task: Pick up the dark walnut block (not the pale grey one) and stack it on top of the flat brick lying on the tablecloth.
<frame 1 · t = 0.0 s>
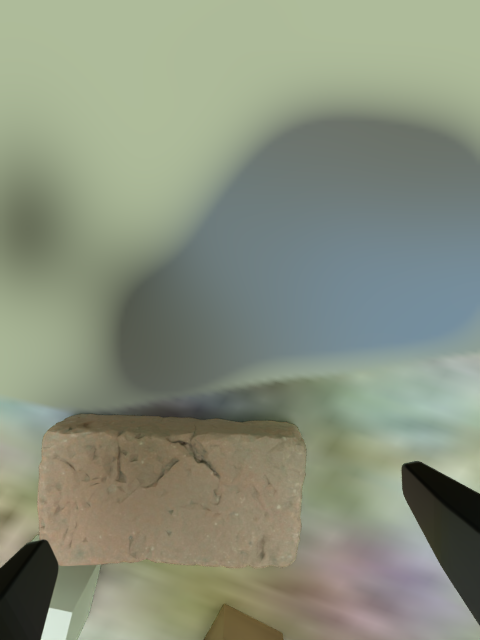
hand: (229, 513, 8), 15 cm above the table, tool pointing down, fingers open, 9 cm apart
brick: (185, 465, 24), on the table
grey block: (63, 573, 24), on the table
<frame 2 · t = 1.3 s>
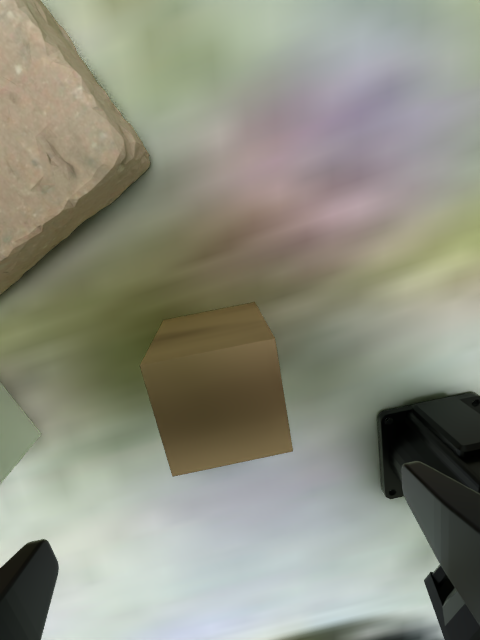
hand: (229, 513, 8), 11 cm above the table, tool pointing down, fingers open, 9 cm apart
walnut block: (218, 352, 18), on the table
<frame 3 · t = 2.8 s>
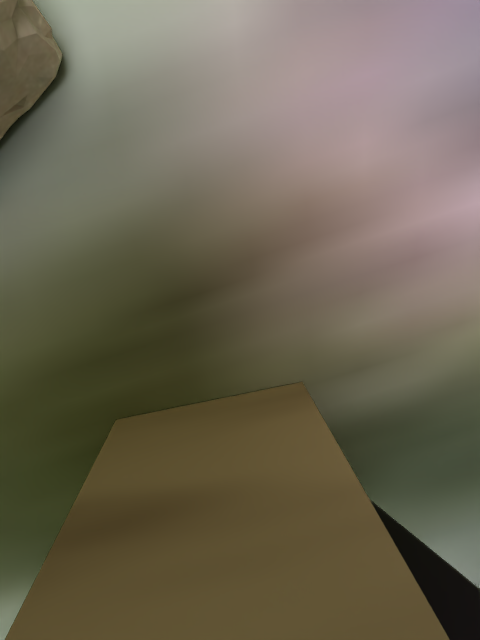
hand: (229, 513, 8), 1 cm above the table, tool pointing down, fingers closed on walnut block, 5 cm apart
walnut block: (227, 476, 9), on the table, touching gripper
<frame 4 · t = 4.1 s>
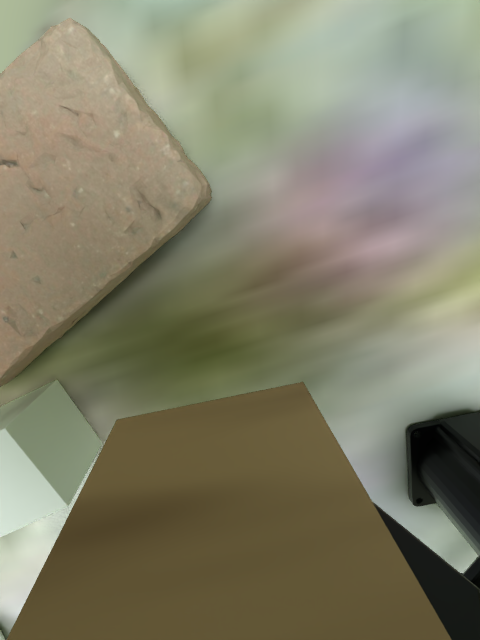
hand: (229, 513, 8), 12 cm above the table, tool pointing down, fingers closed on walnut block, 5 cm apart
brick: (54, 235, 18), on the table
grey block: (46, 428, 20), on the table
walnut block: (228, 476, 9), point 11 cm above the table, touching gripper
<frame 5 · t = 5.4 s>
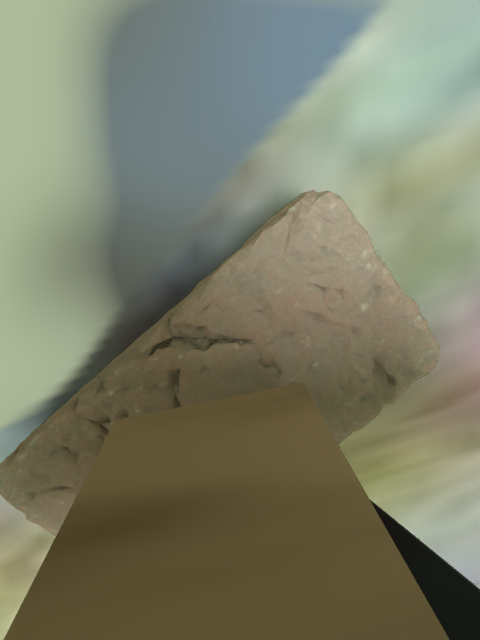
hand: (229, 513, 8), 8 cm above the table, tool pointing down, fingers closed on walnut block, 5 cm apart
brick: (220, 366, 16), on the table
walnut block: (227, 477, 9), point 7 cm above the table, touching gripper
when the fingers open (8 cm above the table, at t = 5.8 s): walnut block drops 2 cm, resting on brick.
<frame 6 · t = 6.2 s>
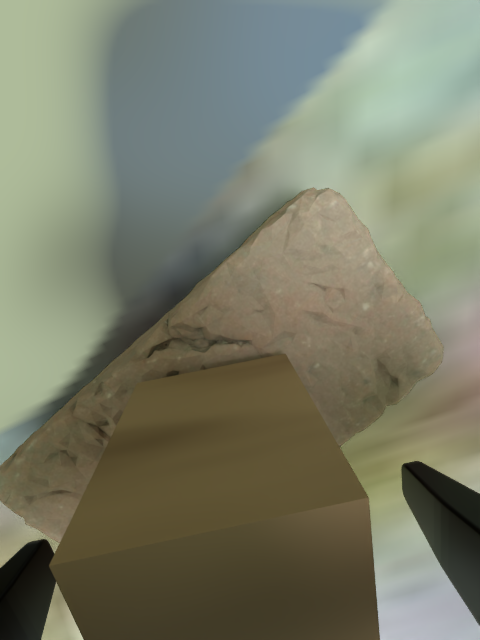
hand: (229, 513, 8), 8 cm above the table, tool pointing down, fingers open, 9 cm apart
brick: (220, 367, 16), on the table, touching walnut block
walnut block: (225, 431, 11), point 4 cm above the table, touching brick
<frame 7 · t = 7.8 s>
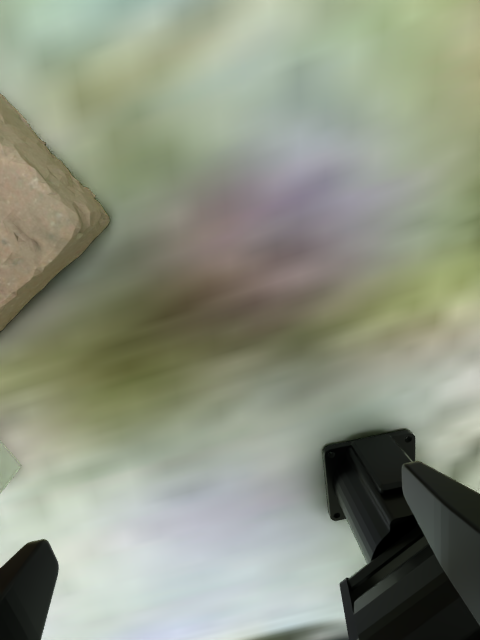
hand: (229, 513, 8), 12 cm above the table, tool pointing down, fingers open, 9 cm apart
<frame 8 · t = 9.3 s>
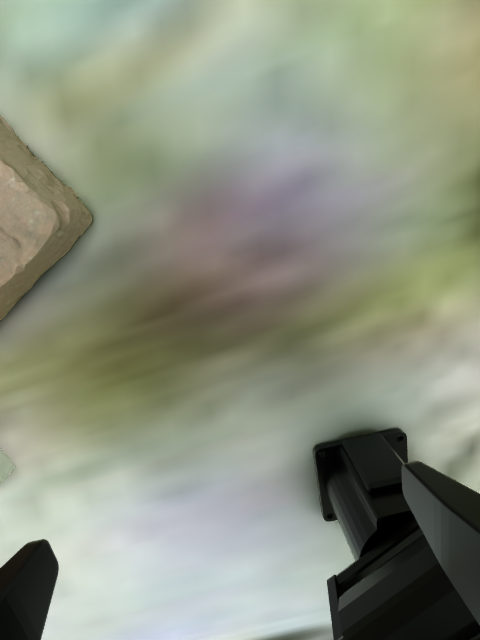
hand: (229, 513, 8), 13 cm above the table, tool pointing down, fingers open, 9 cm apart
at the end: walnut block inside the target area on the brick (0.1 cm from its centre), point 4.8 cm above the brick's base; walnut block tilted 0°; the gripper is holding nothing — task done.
